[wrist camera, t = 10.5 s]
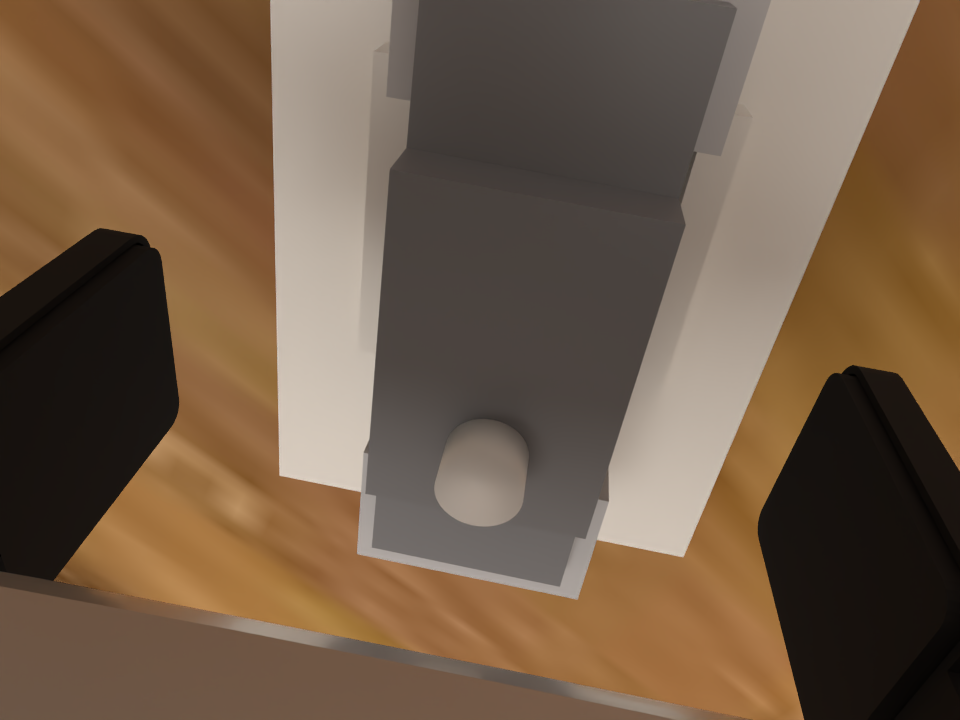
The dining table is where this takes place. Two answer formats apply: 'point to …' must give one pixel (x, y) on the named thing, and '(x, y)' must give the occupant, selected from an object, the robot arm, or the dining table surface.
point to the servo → (527, 265)
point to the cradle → (692, 282)
